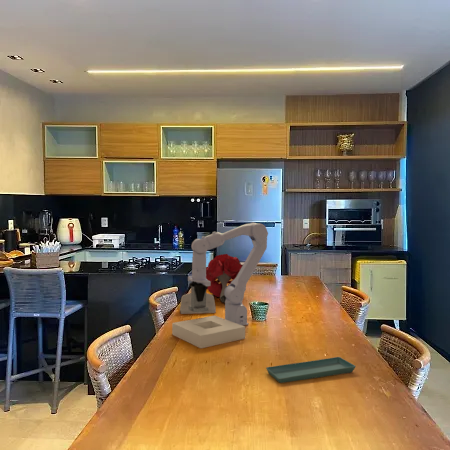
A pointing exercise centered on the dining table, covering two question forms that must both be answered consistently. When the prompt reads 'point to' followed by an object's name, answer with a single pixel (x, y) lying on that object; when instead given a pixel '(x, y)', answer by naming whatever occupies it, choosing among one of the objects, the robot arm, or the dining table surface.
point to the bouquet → (222, 274)
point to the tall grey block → (195, 304)
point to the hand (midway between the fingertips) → (198, 300)
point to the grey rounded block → (187, 302)
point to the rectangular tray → (310, 369)
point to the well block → (208, 331)
